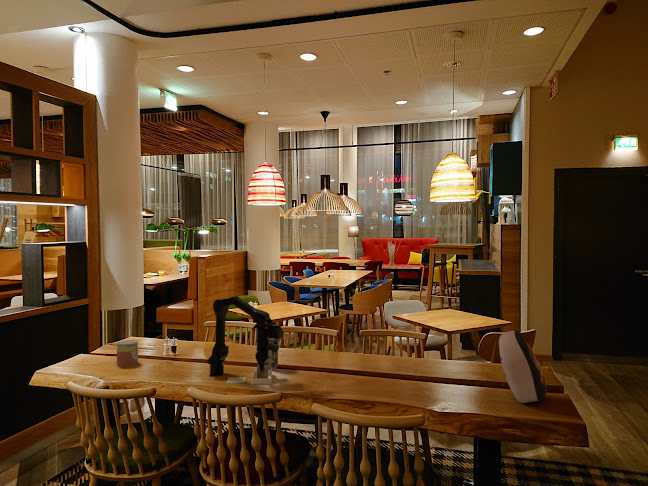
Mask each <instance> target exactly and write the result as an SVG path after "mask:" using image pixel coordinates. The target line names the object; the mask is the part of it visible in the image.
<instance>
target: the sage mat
mask: <svg viewBox="0 0 648 486" xmlns="http://www.w3.org/2000/svg"><path fill="white" fill-rule="evenodd" d="M246 379H247V376H244V377H243V376H242V377H241V376H239V377H235V376H233V377H231V376H230V377H227V380H226V382H225V384H245V383H246Z"/></svg>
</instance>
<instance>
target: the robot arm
mask: <svg viewBox="0 0 648 486" xmlns="http://www.w3.org/2000/svg"><path fill="white" fill-rule="evenodd" d="M232 305H233V306H235V307H236V308H237V309H239V310H241V311H242V312H244V313H245V314H247V315H248V316H250V319H252V321H253V322H255V325H253V327H252V329H256V352H255V355H254V356H255V357H254V358H255V360H256V362H257V365H259V367H260V370H261V371H263V369H264V364H265V361H266V360H267V359H268V353H269V350H272V351H274V352H276V353H277V352H278V353H279V349H280V344H279V343H278V344H277V341H273V342H269V339H268V337H269V338H273V339H278V340H281V339H282V338H283V336H284V330H283V328H282V325H280V324H276V325H275V323H274V322H273V320H272V319H271V316H270V313H269V312H267V311H264V310H263V309H258V308H256V307H254V306H252V305H251V304H249V302H247V301H245V300H243V299H242V298H241V297H239V296H237V295H232V296H230V297H228V298H225V297H224V298H223V297H222V298H218V299H215V300H214V301H213V303H212V307H213V308H212V309H213V313H214V315H215V339H214V341H215V343H214V346H212V347H213V348H212V351H211V354H210V356H209V357H208V359H207V364H208V365H209V377H212V376H214V377H219V376H221V377H222V376H223V375H224V373H225V364H224V362H225V361H226V358H227V357H228V355H229V354H230V353H229V349H230V347H229V345H226V315H227V313H228V311H229V309H230V306H232Z"/></svg>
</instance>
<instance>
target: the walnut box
mask: <svg viewBox="0 0 648 486" xmlns="http://www.w3.org/2000/svg"><path fill="white" fill-rule="evenodd" d="M256 365H257V366H256V371H257V379H268V370H269V369H268V365H264V369H263V371H261V370H260V367H259V365H258V364H256Z"/></svg>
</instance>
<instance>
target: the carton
mask: <svg viewBox="0 0 648 486" xmlns="http://www.w3.org/2000/svg"><path fill="white" fill-rule="evenodd" d="M272 377H273V370H272V368H271V369H268V379H257V370H256V368H254V369H253V374H252V385H264V384H265V385H267V384H269V385H270V384H272V379H273V378H272Z"/></svg>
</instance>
